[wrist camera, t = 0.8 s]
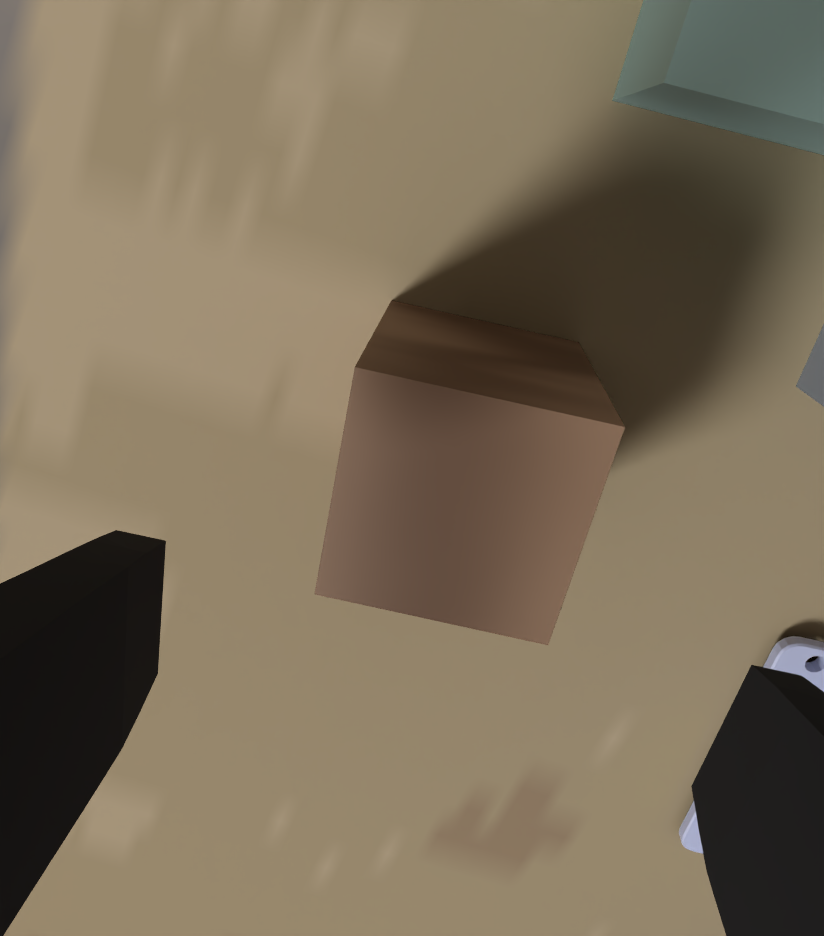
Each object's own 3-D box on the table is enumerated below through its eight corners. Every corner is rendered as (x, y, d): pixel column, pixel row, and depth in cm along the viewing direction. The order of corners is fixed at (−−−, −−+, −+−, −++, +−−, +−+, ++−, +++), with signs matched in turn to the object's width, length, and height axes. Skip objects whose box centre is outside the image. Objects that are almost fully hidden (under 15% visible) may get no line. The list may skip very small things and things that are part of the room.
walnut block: (578, 342, 17) (625, 427, 11) (527, 507, 18) (548, 645, 13) (391, 300, 16) (354, 367, 11) (359, 470, 18) (314, 594, 13)
